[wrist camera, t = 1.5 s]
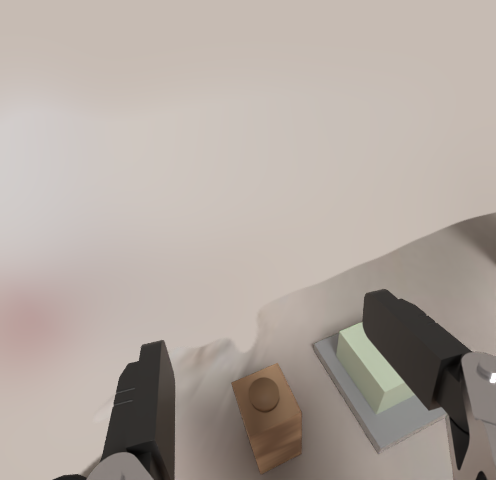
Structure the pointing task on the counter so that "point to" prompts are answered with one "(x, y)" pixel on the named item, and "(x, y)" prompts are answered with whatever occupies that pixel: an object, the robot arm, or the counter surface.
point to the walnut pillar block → (270, 417)
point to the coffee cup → (71, 477)
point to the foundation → (373, 389)
